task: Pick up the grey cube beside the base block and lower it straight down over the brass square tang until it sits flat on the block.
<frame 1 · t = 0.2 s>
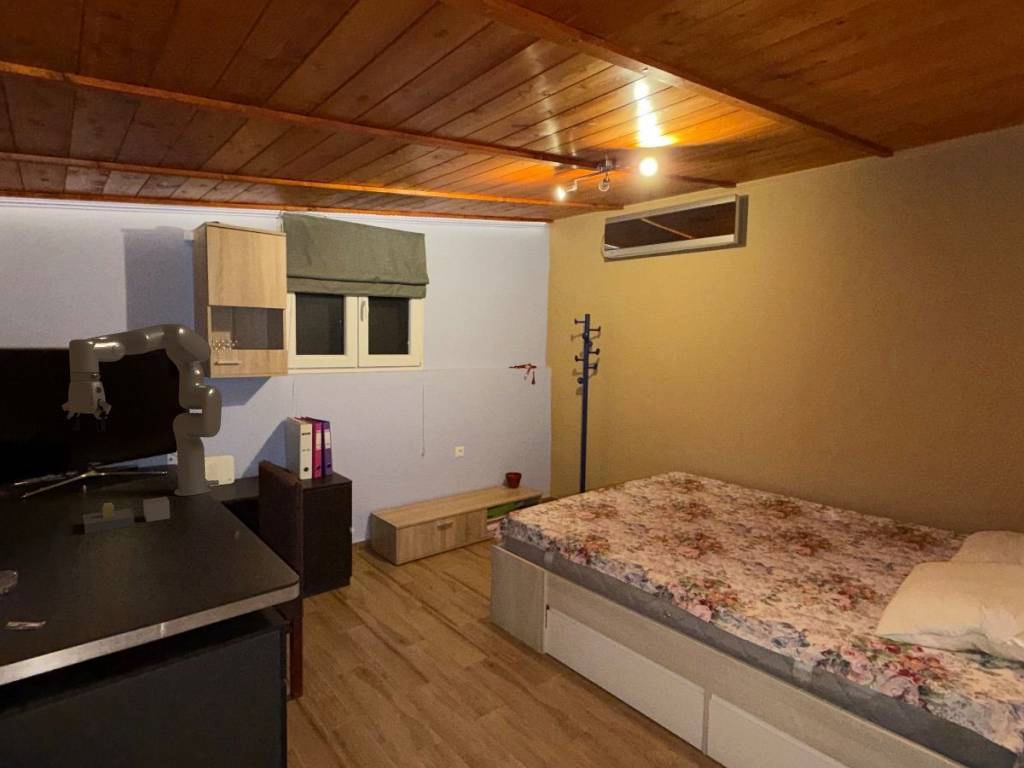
hand: (87, 431, 195), 30 cm above the table, tool pointing down, fingers open, 9 cm apart
tang block: (108, 525, 196), on the table
grey cube: (157, 517, 204), on the table
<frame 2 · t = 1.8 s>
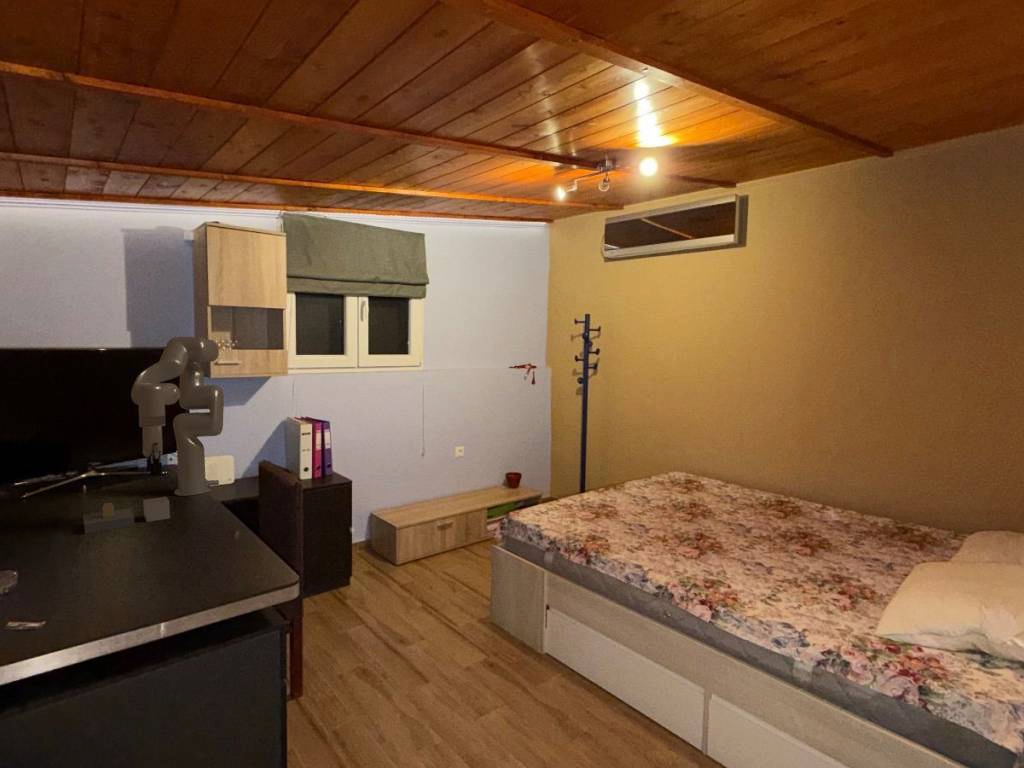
hand: (154, 472, 203), 15 cm above the table, tool pointing down, fingers open, 9 cm apart
nothing on the table moved.
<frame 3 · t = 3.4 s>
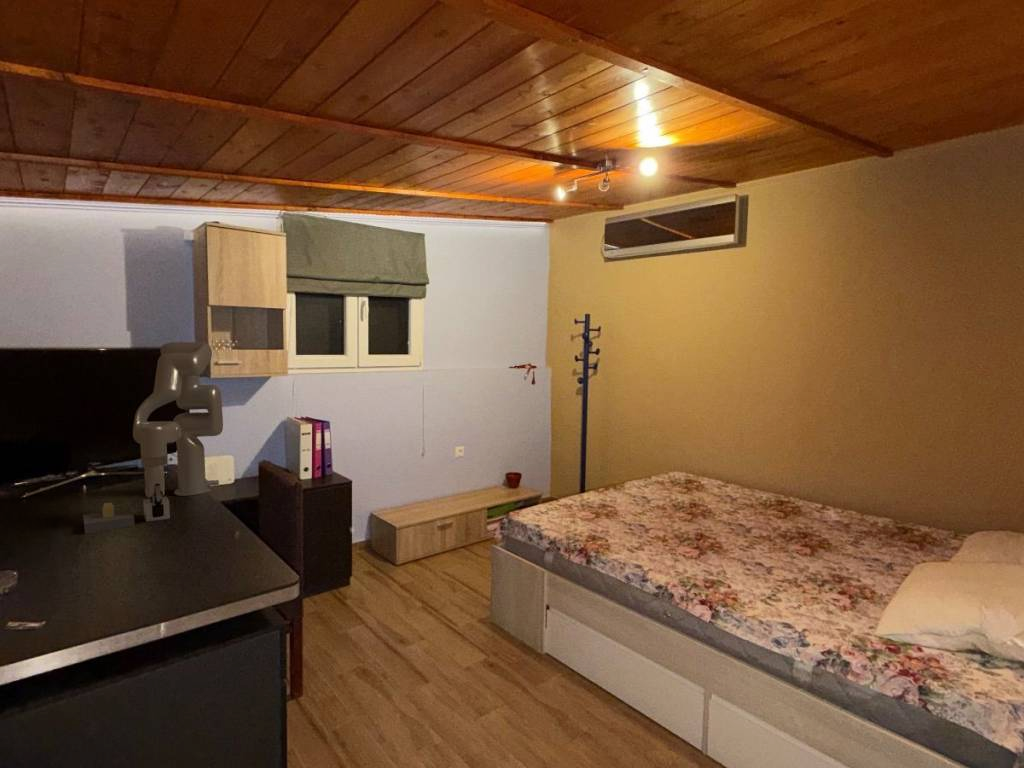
hand: (156, 513, 204), 1 cm above the table, tool pointing down, fingers closed on grey cube, 6 cm apart
grey cube: (156, 517, 204), on the table, touching gripper
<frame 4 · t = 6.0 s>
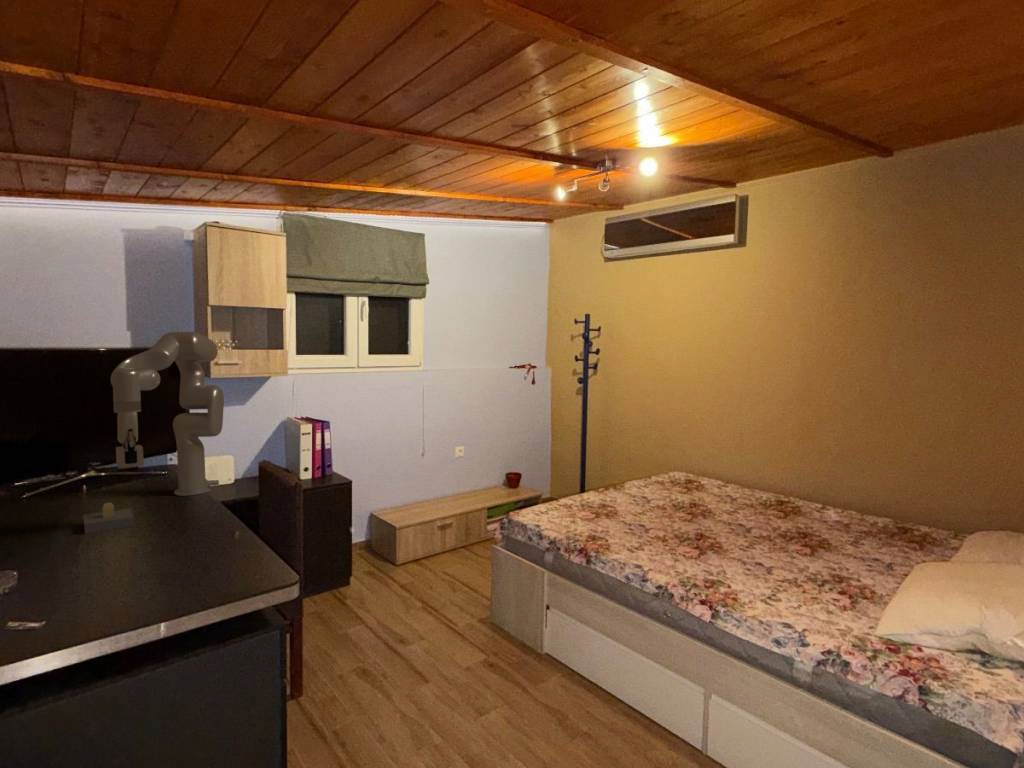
hand: (129, 461, 198), 20 cm above the table, tool pointing down, fingers closed on grey cube, 6 cm apart
grey cube: (130, 465, 199), point 19 cm above the table, touching gripper
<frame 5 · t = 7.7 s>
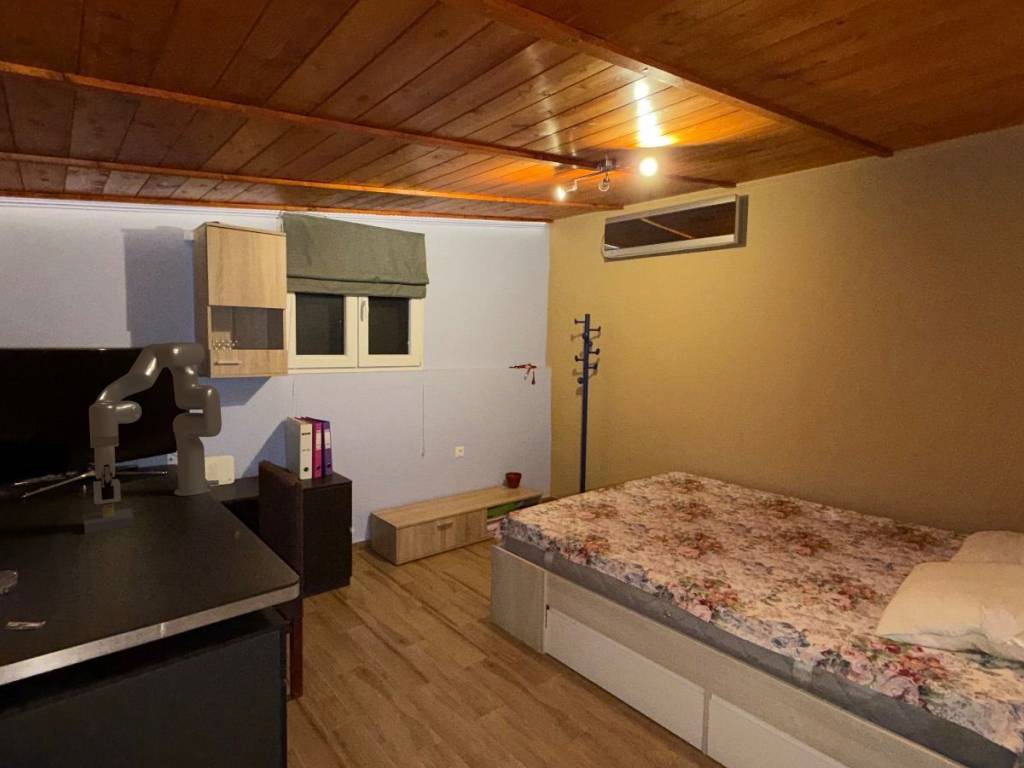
hand: (107, 496, 195), 9 cm above the table, tool pointing down, fingers closed on grey cube, 6 cm apart
grey cube: (107, 500, 195), point 8 cm above the table, touching gripper
when the fingers open (6 cm above the table, at t = 8.9 s): grey cube drops 1 cm, resting on tang block.
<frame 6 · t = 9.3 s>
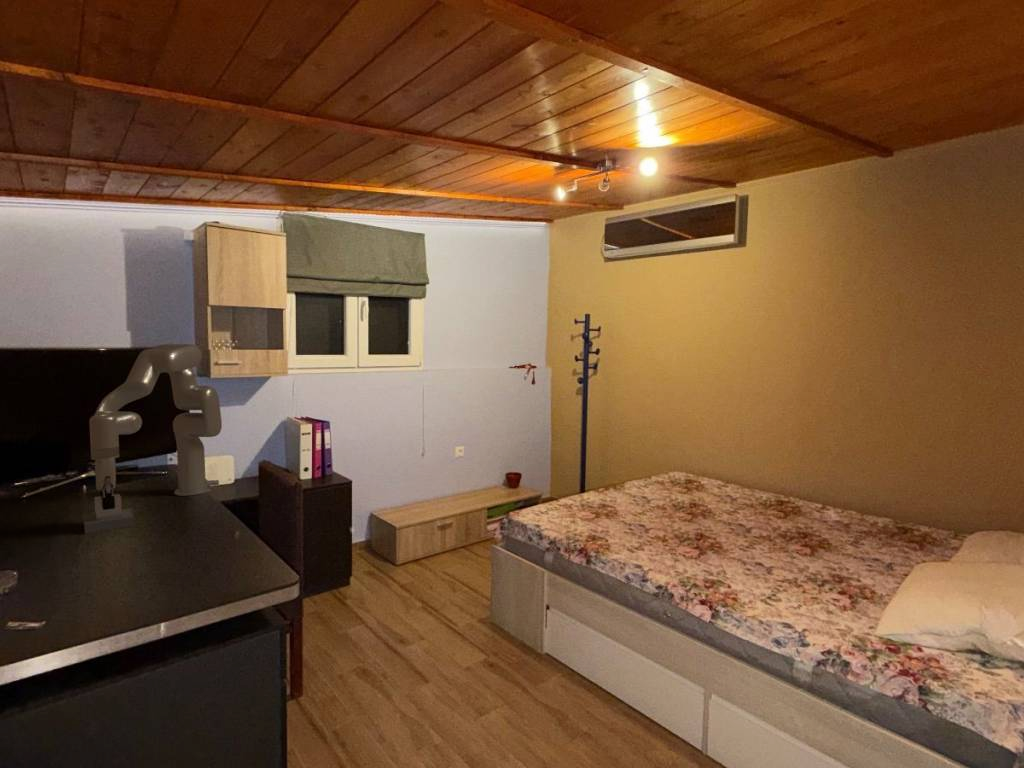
hand: (107, 505, 196), 6 cm above the table, tool pointing down, fingers open, 9 cm apart
grey cube: (108, 515, 196), point 3 cm above the table, touching tang block
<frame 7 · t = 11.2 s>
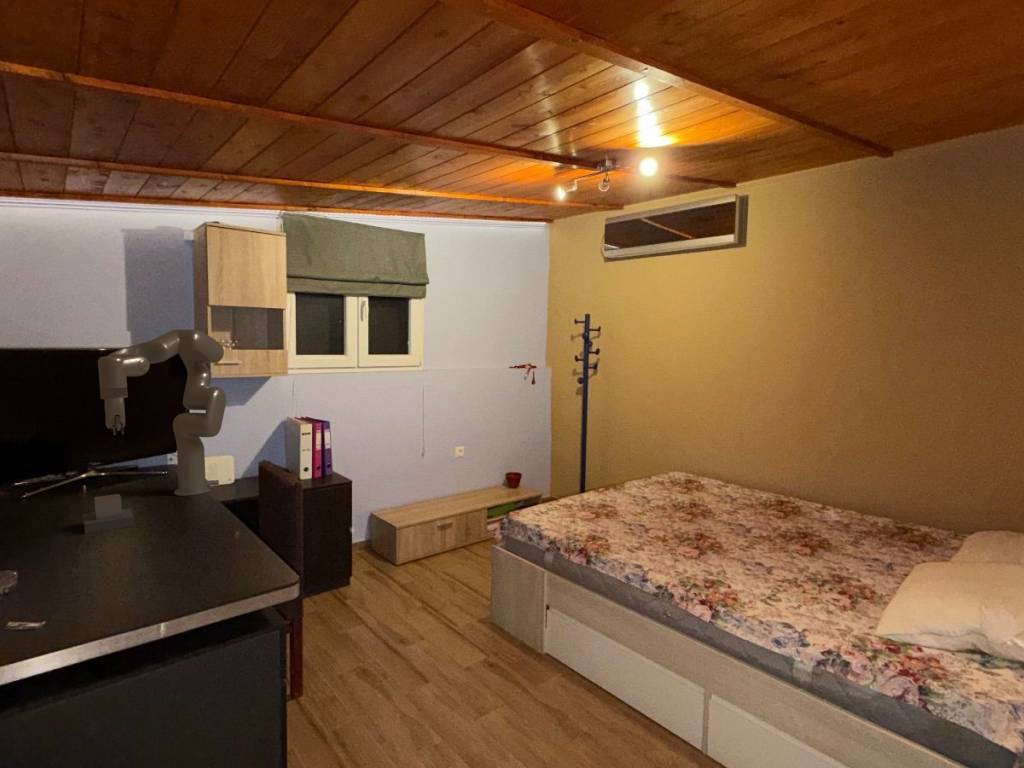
hand: (118, 444, 203), 25 cm above the table, tool pointing down, fingers open, 9 cm apart
nothing on the table moved.
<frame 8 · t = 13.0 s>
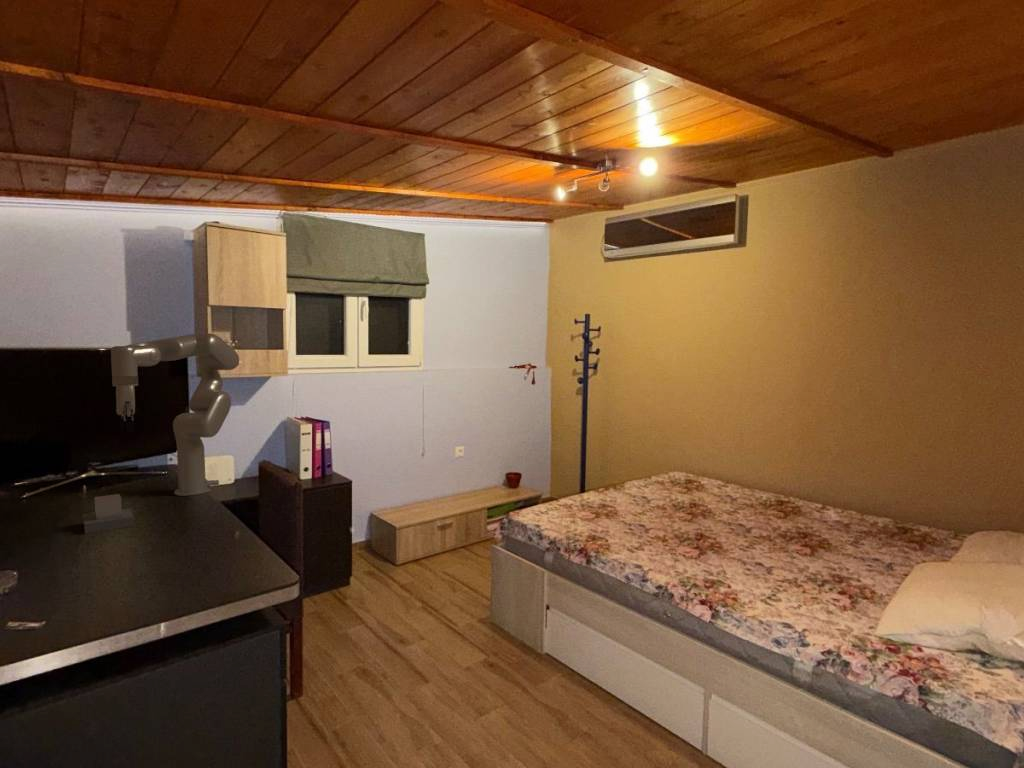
hand: (127, 430, 211), 28 cm above the table, tool pointing down, fingers open, 9 cm apart
nothing on the table moved.
at the end: grey cube 0.1 cm off-centre on the tang block, point 3.0 cm above the tang block's base; grey cube tilted 0°; the gripper is holding nothing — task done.
